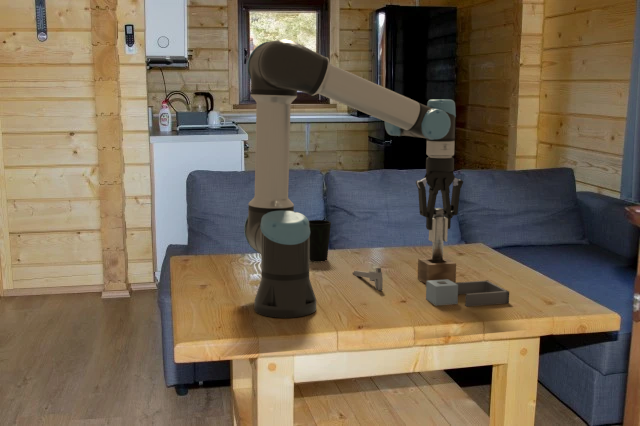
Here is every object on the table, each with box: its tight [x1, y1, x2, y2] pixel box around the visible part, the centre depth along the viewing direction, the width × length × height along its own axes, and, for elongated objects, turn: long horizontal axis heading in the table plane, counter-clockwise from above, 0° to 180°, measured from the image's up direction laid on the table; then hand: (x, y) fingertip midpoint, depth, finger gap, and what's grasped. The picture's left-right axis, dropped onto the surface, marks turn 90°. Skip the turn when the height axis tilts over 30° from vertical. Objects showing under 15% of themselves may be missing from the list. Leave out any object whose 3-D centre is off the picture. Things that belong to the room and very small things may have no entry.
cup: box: [309, 219, 332, 263], centre depth 240 cm, size 8×8×12 cm
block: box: [425, 279, 459, 306], centre depth 195 cm, size 6×6×5 cm
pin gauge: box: [431, 207, 445, 263], centre depth 213 cm, size 3×3×15 cm
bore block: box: [417, 256, 457, 285], centre depth 214 cm, size 8×8×6 cm
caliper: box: [352, 267, 384, 292], centre depth 213 cm, size 20×1×6 cm, turn 18°
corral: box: [455, 279, 510, 307], centre depth 197 cm, size 12×12×3 cm
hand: (437, 240), depth 213 cm, fingers closed on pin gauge, 3 cm apart
